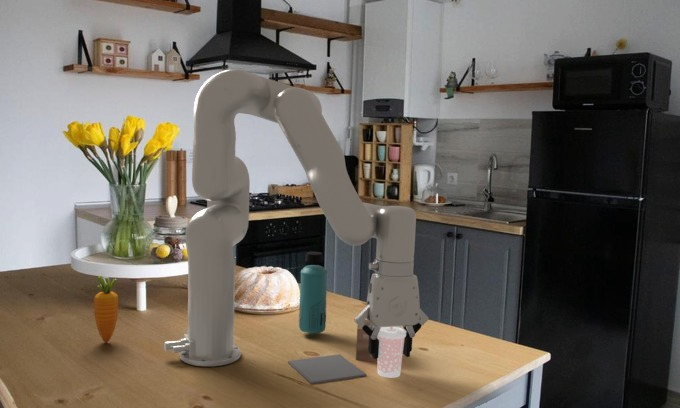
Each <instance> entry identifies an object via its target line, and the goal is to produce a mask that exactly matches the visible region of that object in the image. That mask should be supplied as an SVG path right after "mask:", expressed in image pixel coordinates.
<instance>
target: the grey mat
mask: <svg viewBox="0 0 680 408" xmlns="http://www.w3.org/2000/svg"><path fill="white" fill-rule="evenodd" d="M287 363H288V364H289V365H290V366H291V368H293V369H294V370H296V372H297V373H298V374H299V375H300V376H302V377H303V378H304V379H305V380H306V381H307V382H308V383H310V385H315V384H323V383H328V382H335V381H341V380H348V379H353V378H354V379H355V378H361V377H366V376H367V373H366V372H364V371H363V370H362V369H361V368H359V367H357V366H356V365H355V364H353V362H351V361H350V360H348V359H347V358H345V357H344V356H343V355H342V354H340V353H339V354H331V355H324V356H317V357H311V358H310V357H309V358H301V359H292V360H288V361H287Z"/></svg>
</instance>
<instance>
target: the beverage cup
mask: <svg viewBox="0 0 680 408" xmlns="http://www.w3.org/2000/svg"><path fill="white" fill-rule="evenodd" d="M405 337H406V330H405V329H404V328H403V327H381V329H380V331H379V333H378V336H377V339H378V340H379V354H378V358H377V361H376V362H377V364H376V365H377V375H379V376H380V377H382V378H383V377H384V378H387V379H388V378H390V379H393V378H398V377H400V376H401V371H402V363H403V355H404V354H403V347H404V338H405Z"/></svg>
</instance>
